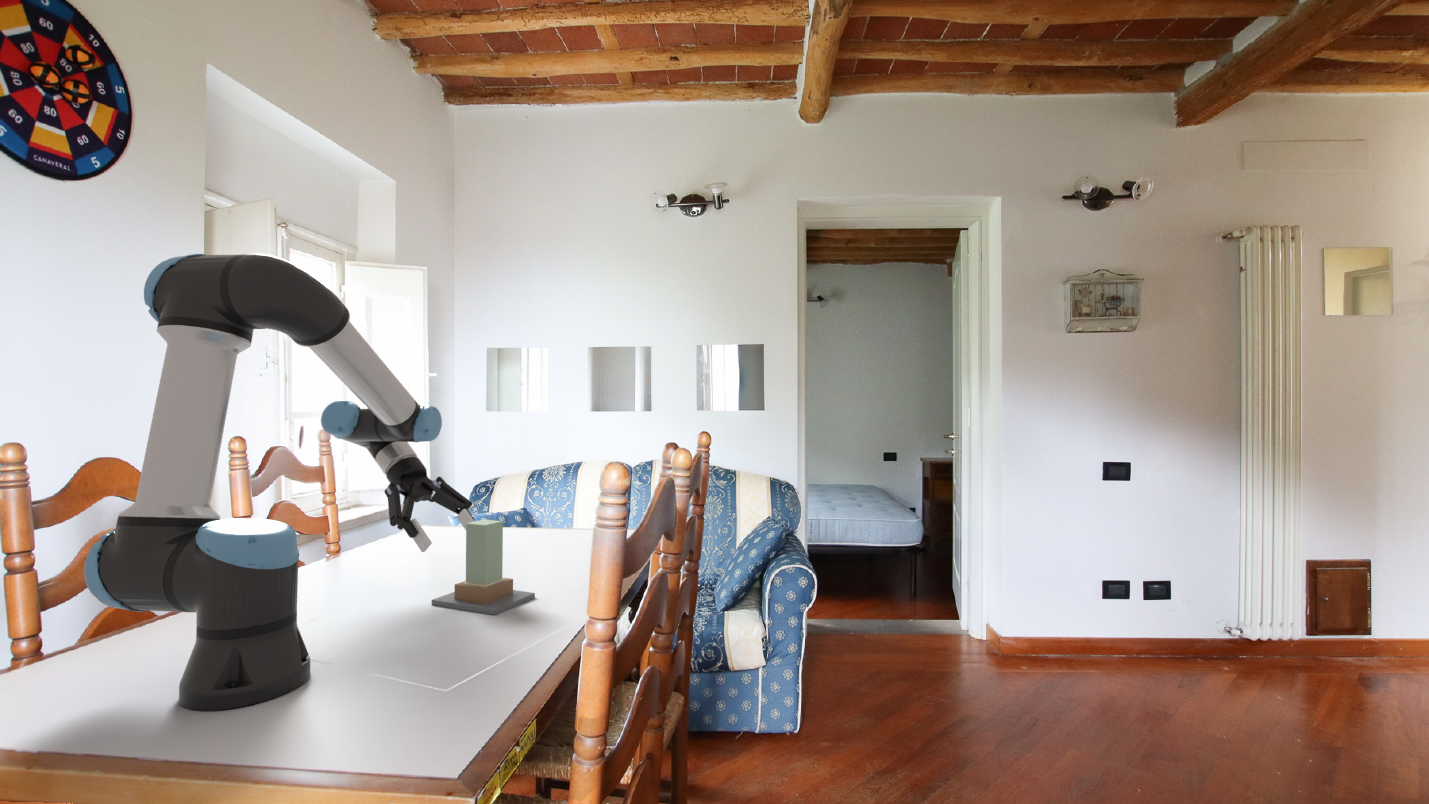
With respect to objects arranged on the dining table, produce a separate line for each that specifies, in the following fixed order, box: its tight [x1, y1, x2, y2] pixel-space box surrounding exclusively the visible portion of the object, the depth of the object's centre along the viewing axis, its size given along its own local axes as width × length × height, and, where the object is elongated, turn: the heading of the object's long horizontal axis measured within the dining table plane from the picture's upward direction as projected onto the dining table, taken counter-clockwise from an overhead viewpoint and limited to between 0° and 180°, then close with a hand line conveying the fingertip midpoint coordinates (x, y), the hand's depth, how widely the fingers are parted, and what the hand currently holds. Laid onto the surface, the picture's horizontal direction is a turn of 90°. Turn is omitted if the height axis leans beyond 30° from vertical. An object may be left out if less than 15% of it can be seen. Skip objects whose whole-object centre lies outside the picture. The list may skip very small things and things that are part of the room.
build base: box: [431, 577, 536, 616], centre depth 131 cm, size 12×16×4 cm
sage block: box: [465, 519, 504, 585], centre depth 131 cm, size 5×5×12 cm
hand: (453, 541), depth 134 cm, fingers open, 13 cm apart
